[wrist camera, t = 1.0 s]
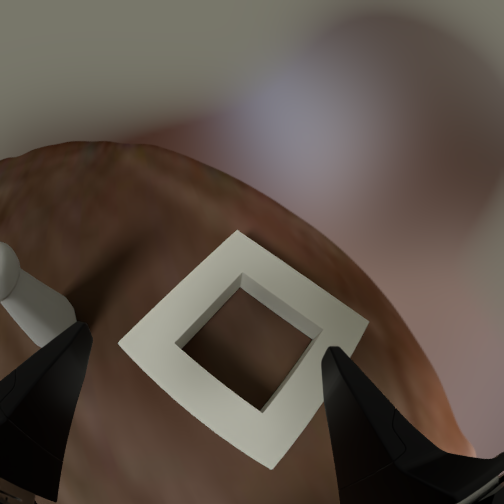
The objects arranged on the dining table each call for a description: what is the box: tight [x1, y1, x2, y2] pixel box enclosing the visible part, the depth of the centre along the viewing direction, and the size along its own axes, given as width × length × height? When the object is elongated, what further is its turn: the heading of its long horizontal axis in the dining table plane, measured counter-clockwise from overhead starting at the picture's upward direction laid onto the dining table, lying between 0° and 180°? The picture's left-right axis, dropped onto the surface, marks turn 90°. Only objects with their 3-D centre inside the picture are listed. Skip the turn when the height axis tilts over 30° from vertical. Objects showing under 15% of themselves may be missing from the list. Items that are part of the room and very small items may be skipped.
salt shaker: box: [0, 242, 77, 348], centre depth 17 cm, size 6×6×13 cm
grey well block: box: [118, 230, 369, 470], centre depth 23 cm, size 16×16×3 cm
